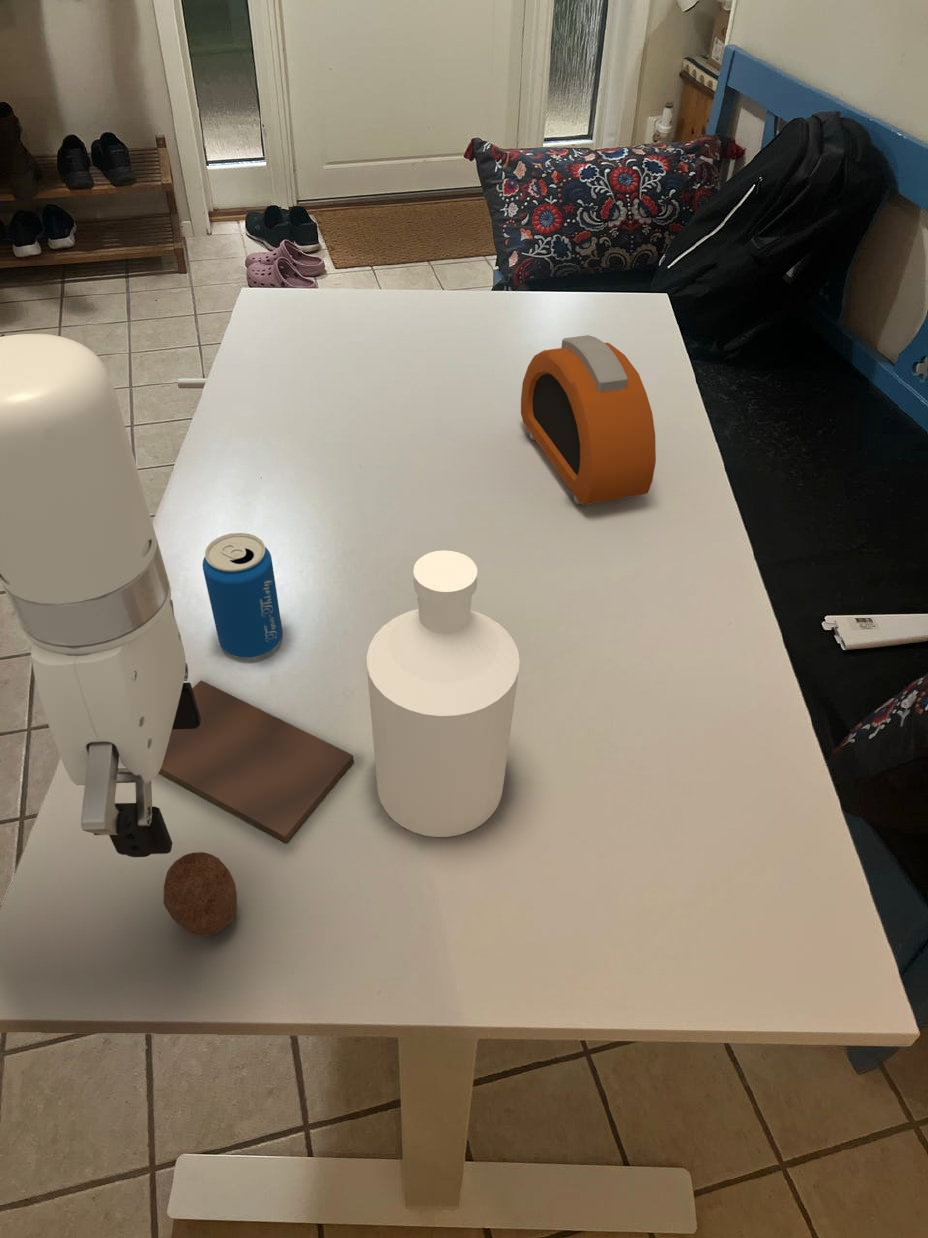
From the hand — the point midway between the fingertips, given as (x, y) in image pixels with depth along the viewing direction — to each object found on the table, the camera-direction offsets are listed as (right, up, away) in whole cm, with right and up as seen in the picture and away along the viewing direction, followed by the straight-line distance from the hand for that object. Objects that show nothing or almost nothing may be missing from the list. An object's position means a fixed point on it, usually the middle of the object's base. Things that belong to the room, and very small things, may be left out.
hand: (162, 784), depth 57 cm
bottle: (+17, -4, +23) cm, 29 cm away
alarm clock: (+35, +31, +61) cm, 77 cm away
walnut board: (-1, -2, +24) cm, 24 cm away
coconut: (-1, -13, +13) cm, 18 cm away
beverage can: (-3, +8, +35) cm, 36 cm away
